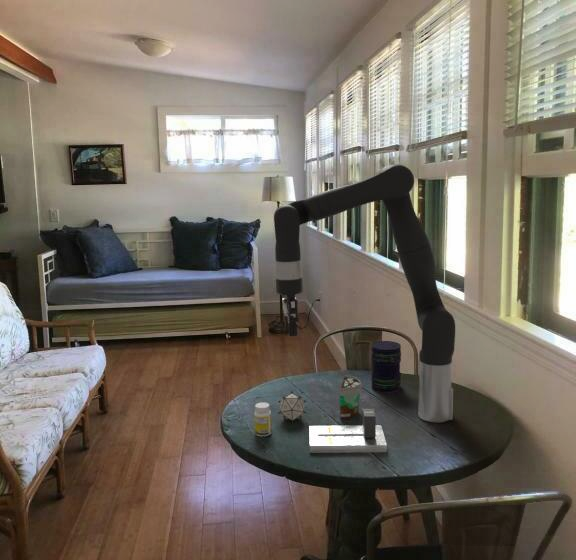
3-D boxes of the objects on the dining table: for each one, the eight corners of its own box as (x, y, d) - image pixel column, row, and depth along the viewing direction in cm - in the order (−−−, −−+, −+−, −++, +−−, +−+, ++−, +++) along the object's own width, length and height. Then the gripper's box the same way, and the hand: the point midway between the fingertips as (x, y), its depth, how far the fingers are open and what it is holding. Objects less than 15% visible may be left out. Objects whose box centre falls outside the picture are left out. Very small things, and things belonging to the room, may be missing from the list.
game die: (290, 428, 174) (289, 396, 179) (313, 424, 169) (312, 391, 174) (271, 423, 168) (271, 389, 172) (294, 418, 163) (294, 384, 168)
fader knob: (373, 429, 158) (373, 408, 157) (375, 437, 153) (375, 416, 152) (362, 429, 158) (362, 408, 157) (364, 437, 153) (364, 416, 152)
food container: (360, 422, 168) (360, 390, 166) (339, 421, 169) (339, 388, 168) (363, 406, 180) (363, 375, 178) (344, 404, 181) (343, 374, 180)
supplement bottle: (262, 428, 166) (261, 400, 165) (275, 432, 163) (274, 404, 162) (251, 434, 163) (250, 405, 161) (264, 438, 160) (263, 409, 158)
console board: (380, 431, 162) (380, 424, 161) (386, 452, 150) (386, 444, 150) (309, 432, 162) (309, 425, 162) (309, 452, 151) (309, 445, 150)
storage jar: (365, 389, 194) (365, 346, 191) (379, 380, 202) (379, 339, 199) (392, 395, 188) (392, 351, 186) (405, 386, 196) (406, 343, 193)
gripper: (305, 279, 156) (308, 337, 159) (298, 271, 170) (300, 324, 173) (278, 281, 155) (280, 339, 158) (273, 273, 169) (275, 326, 172)
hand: (291, 331), depth 166 cm, fingers open, 8 cm apart
